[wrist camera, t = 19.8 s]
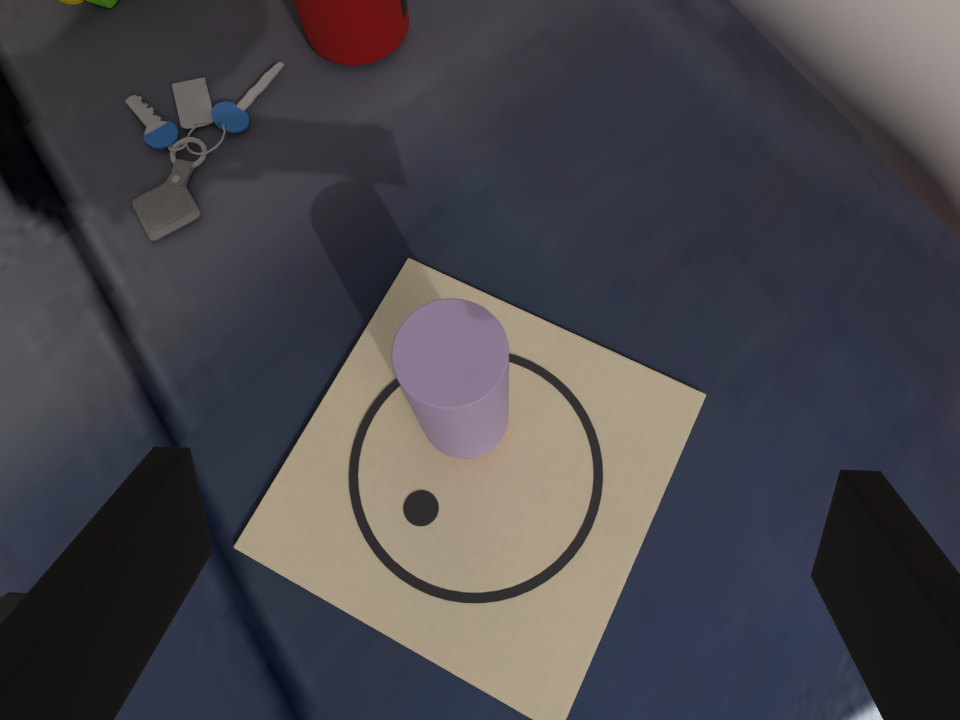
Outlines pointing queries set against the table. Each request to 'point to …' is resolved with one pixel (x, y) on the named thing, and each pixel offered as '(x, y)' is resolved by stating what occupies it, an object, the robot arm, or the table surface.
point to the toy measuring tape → (102, 0)
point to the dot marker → (455, 375)
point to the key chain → (172, 199)
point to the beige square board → (480, 503)
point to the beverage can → (354, 28)
